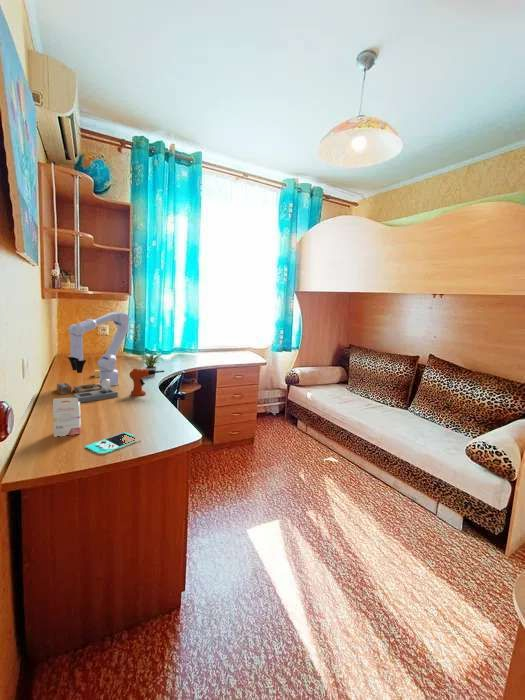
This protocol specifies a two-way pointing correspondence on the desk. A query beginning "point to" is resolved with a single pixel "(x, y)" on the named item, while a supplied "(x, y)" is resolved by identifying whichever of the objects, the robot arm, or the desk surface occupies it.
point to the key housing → (64, 389)
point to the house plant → (150, 364)
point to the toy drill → (140, 380)
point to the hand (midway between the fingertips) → (77, 371)
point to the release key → (63, 385)
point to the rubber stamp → (97, 373)
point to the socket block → (86, 388)
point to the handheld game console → (109, 443)
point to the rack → (95, 395)
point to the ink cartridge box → (66, 417)
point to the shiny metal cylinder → (105, 385)
